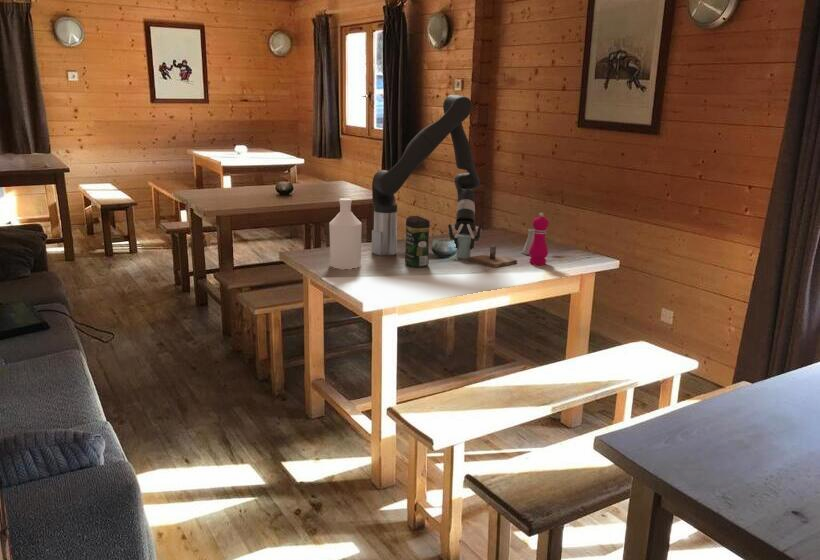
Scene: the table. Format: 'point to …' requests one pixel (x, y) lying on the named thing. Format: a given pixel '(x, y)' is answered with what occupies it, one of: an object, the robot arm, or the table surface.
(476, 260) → the post stand
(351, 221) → the bottle
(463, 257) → the grey canister
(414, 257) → the coffee jar
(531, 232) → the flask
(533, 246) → the pepper mill
